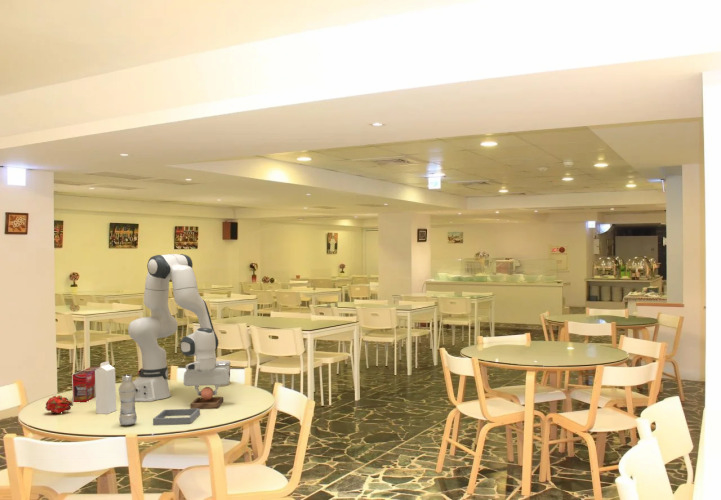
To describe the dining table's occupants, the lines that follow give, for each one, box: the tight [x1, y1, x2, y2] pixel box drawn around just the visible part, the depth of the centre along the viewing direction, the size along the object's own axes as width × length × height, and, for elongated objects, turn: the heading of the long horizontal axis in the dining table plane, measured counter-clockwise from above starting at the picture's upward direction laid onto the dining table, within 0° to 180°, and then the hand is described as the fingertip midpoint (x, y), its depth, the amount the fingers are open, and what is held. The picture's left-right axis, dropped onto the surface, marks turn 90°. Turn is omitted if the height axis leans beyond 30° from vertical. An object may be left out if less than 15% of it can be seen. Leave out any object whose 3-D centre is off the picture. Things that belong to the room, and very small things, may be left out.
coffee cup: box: [216, 360, 231, 388], centre depth 329 cm, size 9×9×12 cm
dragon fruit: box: [44, 395, 74, 414], centre depth 278 cm, size 8×8×12 cm
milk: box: [95, 360, 117, 415], centre depth 278 cm, size 6×6×22 cm
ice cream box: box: [71, 366, 100, 403], centre depth 309 cm, size 20×6×13 cm, turn 1°
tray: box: [189, 396, 224, 410], centre depth 284 cm, size 12×12×2 cm
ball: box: [200, 386, 214, 400], centre depth 284 cm, size 6×6×6 cm
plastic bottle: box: [118, 374, 138, 426], centre depth 255 cm, size 6×7×20 cm
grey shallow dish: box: [152, 408, 201, 426], centre depth 261 cm, size 15×15×2 cm
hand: (207, 395), depth 284 cm, fingers closed on ball, 6 cm apart
